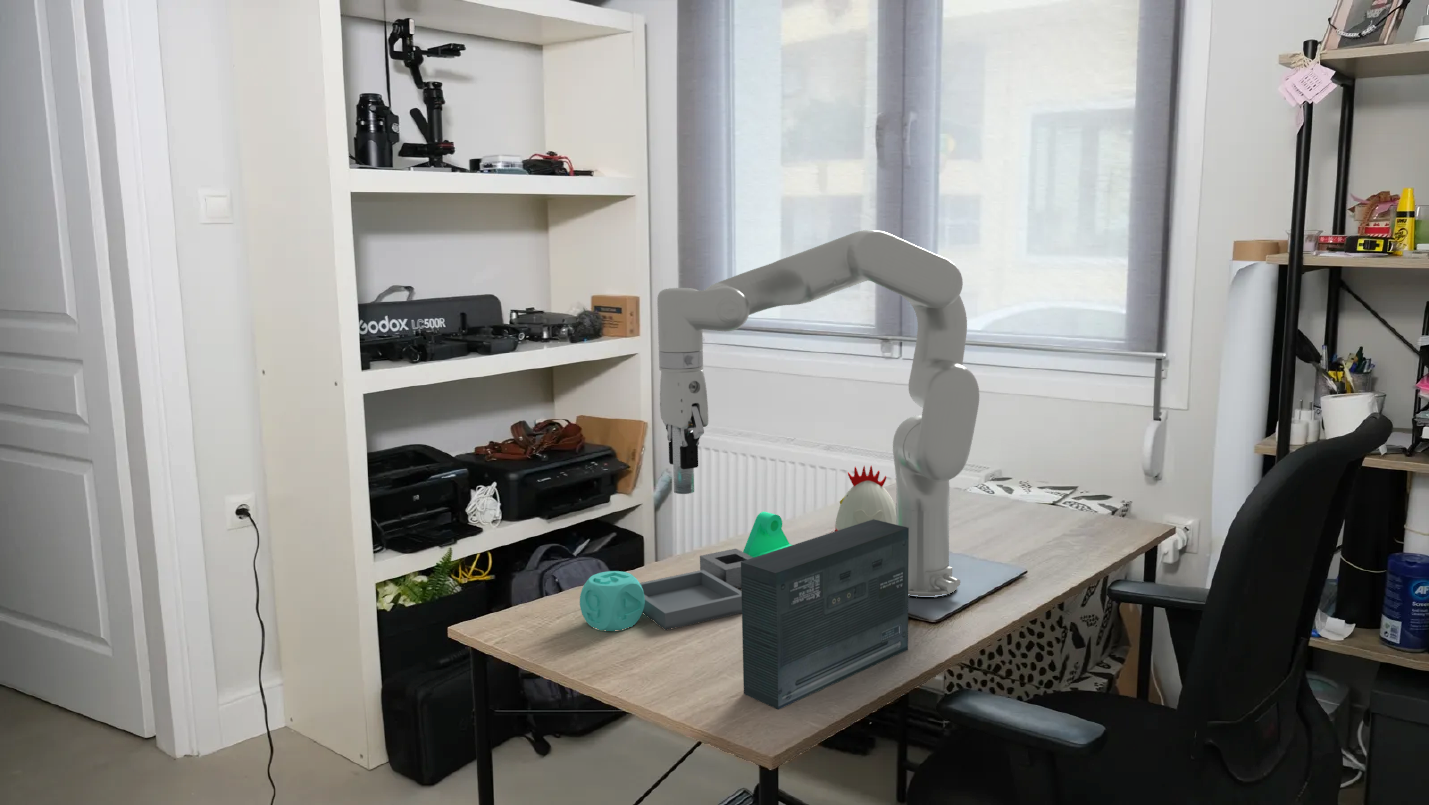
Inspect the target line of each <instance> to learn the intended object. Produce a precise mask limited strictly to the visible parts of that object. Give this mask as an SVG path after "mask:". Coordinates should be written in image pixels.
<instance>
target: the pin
mask: <svg viewBox="0 0 1429 805" xmlns="http://www.w3.org/2000/svg"><path fill="white" fill-rule="evenodd" d="M688 425H689V426H688V427H693V425H692V424H688ZM690 432H692V431H687V436H688V434H689V433H690ZM672 437H673V465H672V471H673V472H672V475H673V476H672V478H673V493H674V494H677V495H689V494H692V493H695V468H690V469H681V467H680V446H682V439H681V428H678V427H676V426H673V425H672Z"/></svg>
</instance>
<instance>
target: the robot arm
mask: <svg viewBox="0 0 1429 805" xmlns="http://www.w3.org/2000/svg"><path fill="white" fill-rule="evenodd" d="M867 281H868V282H871V283H874V284H876V285H878V286H880V287H882V288H884V289H886V290H889V291H891V292H894V293H896V294H898V295H900V296H901V297H902V298H903V299H905V300H906V301H907V302H909V303H910V305H911V306H912V308H913V310H914V313H915V315H916V316H915V317H916V322H917V332H916V333H917V334H916V342H915V348H914V353H913V359H912V363H911V364H912V365H911V369H910V374H909V380H908V393H909V396H910V398H911V399H912V401H913V402H914V403H915V404H916V405H918V406H919V407H920V408H922V412H921V415H913V416H910V417H907V419H905V420H904V421H902V422H901V423H900V424H899V425H898V427H897V428H896V430H895V433H894V436H893V439H892V455H893V464H894V473H895V474H894V475H895V494H896V495H895V500H896V501H895V502H896V503H895V507H896V525H899V526H903V527H907V528H909V563H908V594H910V595H918V596H935V595H942V594H949V593H952V592H953V593H955V592H956V591H957V589H958V587H959V586H960V585H961V579H959V578H957V577H955V576H953V567H952V566H950V514H951V513H950V512H951V511H950V509H951V508H950V506H951V490H950V488H951V487H950V480H952V479H954V478H956V477H957V476H958V475H960V473H961V472H962V471H963V470H964V468H965V466H966V465H967V463H968V460H969V457H970V453H971V450H972V449H971V448H972V444H973V443H972V442H973V438H974V432H975V428H976V422H977V417H978V411H979V404H980V389H979V384H978V381H977V379H976V376H975V375H974V373H973V372H972V371H971V370H969V369H968V368H967V367H966V366H964V365H963V364H964V356H965V349H966V343H967V342H966V341H967V333H968V320H967V319H968V318H967V312H966V307H965V304H964V301H963V300H962V297H961V294H962V290H963V283H964V282H963V276H962V273H961V271H960V269H959V267H958V266H957V265H956V264H955V263H953V261H951V260H950V259H948V258H946V257H943V256H942V255H939V254H936V253H934V252H931V251H930V250H927V249H925V248H922V247H920V246H917V245H915V244H914V243H911V242H909V241H907V240H904V239H903V238H900V237H898V236H896V235H893V234H891V233H889V232H886V231H885V230H884V231H883V230H875V229H873V230H872V229H871V230H870V229H865V230H859V231H855V232H852V233H849V234H847V235H845V236H841V237H838V238H836V239H833V240H831V241H829V242H825V243H823V244H821V245H817V246H815V247H811V248H810V249H807V250H804V251H801V252H799V253H795V254H793V255H790V256H787V257H784V258H781V259H778V260H776V261H773V262H771V263H768V264H765V265H762V266H759V267H757V268H754V269H753V268H752V270H748V271H745V272H742V273H740V274H737V275H734V276H731V277H729V278H726V279H723V280H721V281H718V282H716V283H715V282H714V283H713V284H711V285H709V286H708V287H706V288H705V289H704V290H702V289H701V290H698V289H696V288H690V287H672V288H671V287H669V288H664V289H662V290H661V291H659V293H658V294H657V298H656V299H657V303H656V304H657V306H656V307H657V333H658V334H657V336H658V362H659V363H658V366H659V368H658V369H659V371H660V382H659V383H660V384H659V412H660V419H661V420H662V422H663V425H664V426H665V429H666V430H665V431H666V433H667V435H666V436H667V437H666V438H667V441H668V463H669V464H670V465H672V466H673V437H672V425H673V426H676V427H678V428H681V439H682V446H680V467H681V469H690V468H694V469H696V468H698V467H699V445H700V439H701V437H702V436H703V435H704V434H705V429H704V428H706V427H708V425H709V422H710V420H709V418H710V417H709V405H708V404H709V403H708V393H707V382H706V378H705V373H704V352H703V351H704V350H703V348H704V345H703V344H704V342H703V341H704V340H703V338H704V337H703V336H704V335H703V330H704V331H706V330H707V331H714V332H715V331H717V332H734V331H736V330H738V329H740V328H741V327H742V326H743V325H744V324H745V323H746V322H747V320H748V318H749V316H750V315H751V316H752V315H753V314H757V313H759V312H762V311H765V310H769V309H773V308H776V307H784V306H794V305H795V306H797V305H803V304H806V303H810V302H814V301H817V300H819V299H822V298H825V297H827V296H829V295H831V294H834V293H836V292H839V291H842V290H844V289H847V288H851V287H854V286H857V285H859V284H861V283H865V282H867ZM688 424H692V425H693V427H688V426H689V425H688ZM687 431H692V432H690V433H689V434H688V436H687ZM956 588H957V589H956ZM955 590H956V591H955ZM954 591H955V592H954ZM953 593H952V594H953ZM949 595H950V594H949Z"/></svg>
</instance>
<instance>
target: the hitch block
mask: <svg viewBox="0 0 1429 805" xmlns="http://www.w3.org/2000/svg"><path fill="white" fill-rule="evenodd" d="M751 558H754V557H752V556H750V555H748V554H746V553H744V552H743V551H741V550H740V549H738V548H732V549H727V550H721V551H716V552H713V553H712V552H711V553H707V554H702V555H701V554H700V555H699V571H700V570H705V571H706V572H708V573H710V574H712V575H713V576H715V577H717V578H719V579H720V580H722V581H724V582H726V583H728V584H729V585H731V586H733V587H735V588H736V589H741V562H742V561H745V560H748V559H751Z"/></svg>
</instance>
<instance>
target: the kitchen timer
mask: <svg viewBox="0 0 1429 805" xmlns="http://www.w3.org/2000/svg"><path fill="white" fill-rule="evenodd" d="M868 470H869V471H868V475H867V473H866V467H865V465H863V467H862V471H861V475H860V474H859V472H858V469H857V467H856V466H854V471H853V472H854V473H853V476H852V475H851V473H850V472H848V471H847V476H848V478H849V480H850V482H851V484H852V486H851V488H850V489H849V490H847V492H846V494H845V495H844V497H843V498H841V500H840V501H839V504H840V505H839V508H838V511H837V514H836V518H835V524H834V529H835V530H834V532H835V531H838V530H841V529H844V528H848V527H851V526H854V525H857V524H860V523H863V522H866V521H869V520H872V519H875V520H879V521H883V522H887V523H891V524H895V525H896V503H895V501H894V500H893V498H892V496H891V495H890V493H889V492H888V491H887V489H886V488H885V487H884V485H885V482H886V481H887V475H885V476H884V477H883V478H882V480H880V481H879V476H880V475H881V474H880V471H881V470H877V472H876V474H875V475H874V471H873V466H872V465H870V467H869V469H868Z"/></svg>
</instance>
